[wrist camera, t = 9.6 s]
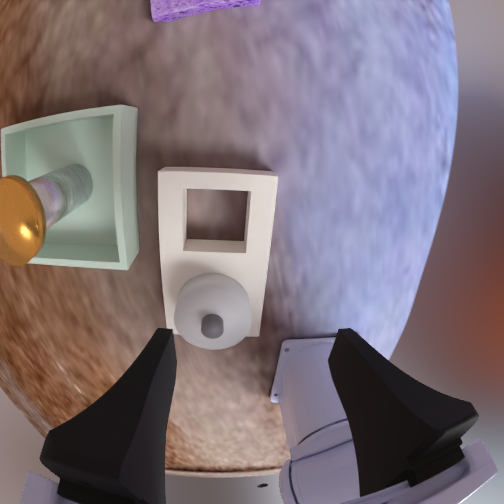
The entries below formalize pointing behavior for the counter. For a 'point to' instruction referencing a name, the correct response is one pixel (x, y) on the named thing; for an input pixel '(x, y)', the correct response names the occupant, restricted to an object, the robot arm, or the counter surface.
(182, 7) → the sponges
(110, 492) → the robot arm
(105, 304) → the counter surface
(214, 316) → the block
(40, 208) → the pin
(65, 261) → the tray
